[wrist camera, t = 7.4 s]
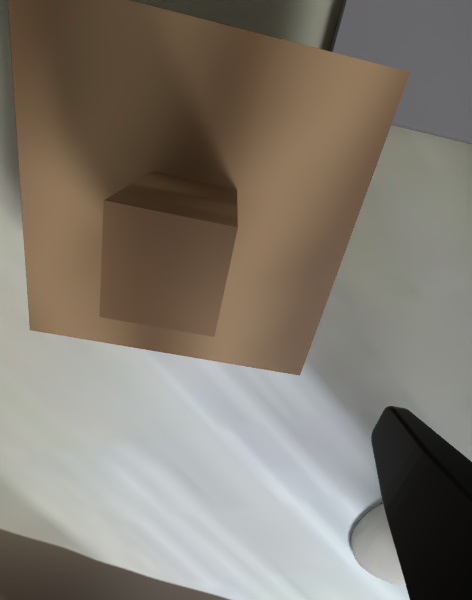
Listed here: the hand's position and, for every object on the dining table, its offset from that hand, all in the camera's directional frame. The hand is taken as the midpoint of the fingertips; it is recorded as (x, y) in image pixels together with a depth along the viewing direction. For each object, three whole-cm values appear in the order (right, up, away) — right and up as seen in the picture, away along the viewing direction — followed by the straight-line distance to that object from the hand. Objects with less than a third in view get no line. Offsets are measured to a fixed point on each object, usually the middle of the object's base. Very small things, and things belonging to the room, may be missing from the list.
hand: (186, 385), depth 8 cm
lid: (-1, +5, +6) cm, 8 cm away
